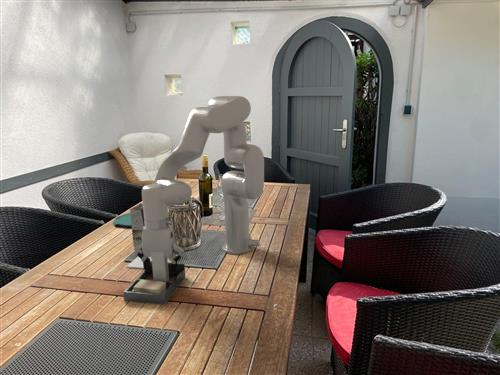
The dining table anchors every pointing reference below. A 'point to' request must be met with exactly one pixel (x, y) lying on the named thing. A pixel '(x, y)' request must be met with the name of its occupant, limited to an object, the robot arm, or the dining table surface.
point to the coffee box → (137, 223)
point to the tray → (153, 297)
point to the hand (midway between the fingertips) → (160, 272)
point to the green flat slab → (123, 220)
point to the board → (139, 263)
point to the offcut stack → (150, 287)
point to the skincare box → (160, 266)
